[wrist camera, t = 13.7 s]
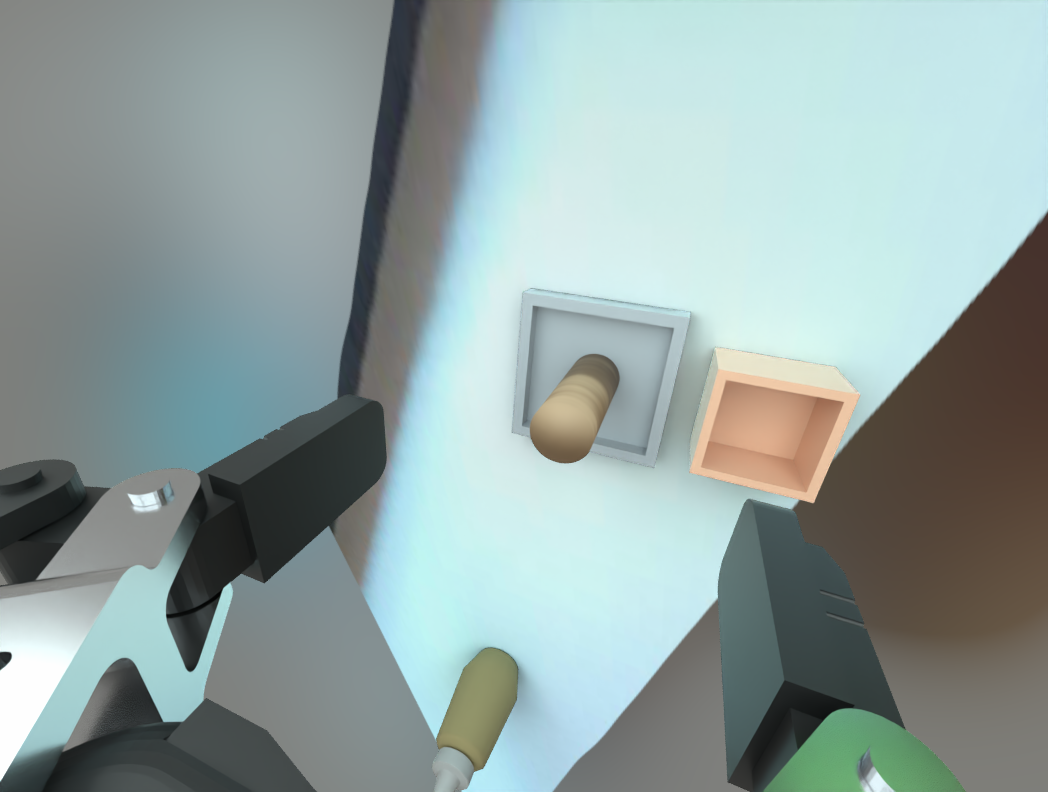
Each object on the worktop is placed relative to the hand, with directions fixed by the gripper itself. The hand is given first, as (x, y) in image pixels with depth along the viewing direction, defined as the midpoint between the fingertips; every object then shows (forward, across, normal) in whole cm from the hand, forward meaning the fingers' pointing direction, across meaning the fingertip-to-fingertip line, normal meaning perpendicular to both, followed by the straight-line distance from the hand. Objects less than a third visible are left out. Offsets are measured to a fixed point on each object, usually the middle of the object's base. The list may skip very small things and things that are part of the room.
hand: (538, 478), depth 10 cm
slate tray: (+31, +3, +10) cm, 33 cm away
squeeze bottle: (+30, +10, +55) cm, 64 cm away
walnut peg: (+30, +3, +10) cm, 32 cm away
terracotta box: (+31, -11, +10) cm, 34 cm away
